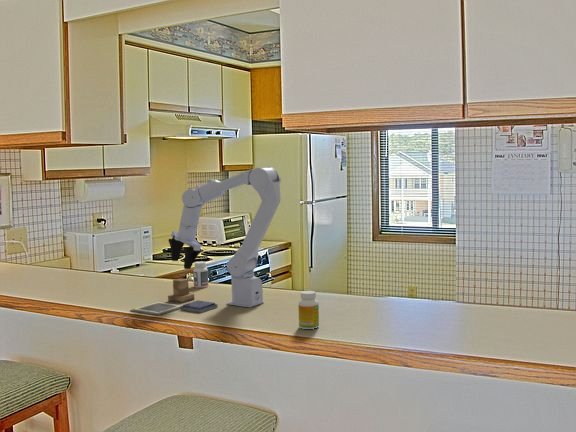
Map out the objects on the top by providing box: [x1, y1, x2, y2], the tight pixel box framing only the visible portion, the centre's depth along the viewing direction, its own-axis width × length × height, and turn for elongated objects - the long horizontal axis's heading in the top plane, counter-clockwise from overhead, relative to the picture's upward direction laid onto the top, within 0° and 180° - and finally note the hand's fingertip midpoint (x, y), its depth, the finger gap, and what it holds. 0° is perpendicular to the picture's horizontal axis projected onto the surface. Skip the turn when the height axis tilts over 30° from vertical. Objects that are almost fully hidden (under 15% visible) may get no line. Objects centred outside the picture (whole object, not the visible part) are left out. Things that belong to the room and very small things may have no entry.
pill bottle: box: [192, 260, 209, 289], centre depth 229 cm, size 5×5×9 cm
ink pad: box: [180, 299, 218, 314], centre depth 195 cm, size 8×8×2 cm
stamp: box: [167, 278, 195, 304], centre depth 207 cm, size 6×6×7 cm
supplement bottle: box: [298, 290, 320, 330], centre depth 171 cm, size 5×5×10 cm
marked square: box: [129, 301, 183, 317], centre depth 196 cm, size 12×12×1 cm
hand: (180, 264), depth 207 cm, fingers open, 7 cm apart
